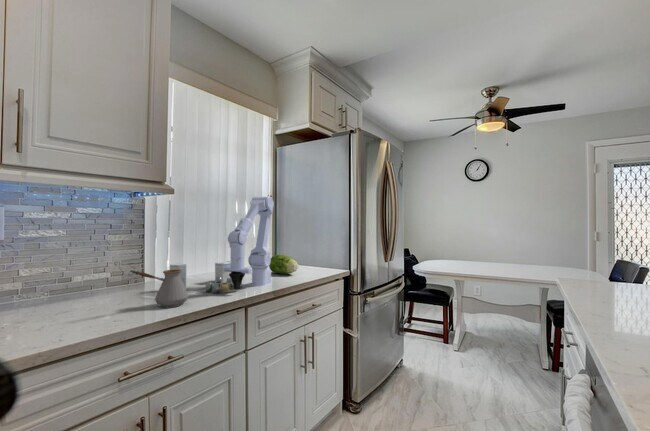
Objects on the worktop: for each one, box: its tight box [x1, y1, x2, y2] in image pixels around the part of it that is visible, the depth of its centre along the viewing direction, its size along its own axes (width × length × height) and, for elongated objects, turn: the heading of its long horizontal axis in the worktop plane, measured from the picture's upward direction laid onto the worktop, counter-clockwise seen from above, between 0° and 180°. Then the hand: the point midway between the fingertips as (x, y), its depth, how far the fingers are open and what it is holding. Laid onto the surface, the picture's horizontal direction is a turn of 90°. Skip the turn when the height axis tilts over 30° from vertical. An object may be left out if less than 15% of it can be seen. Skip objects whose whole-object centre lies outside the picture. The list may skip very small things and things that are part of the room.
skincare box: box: [169, 263, 187, 290], centre depth 144 cm, size 6×4×12 cm
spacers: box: [205, 277, 243, 295], centre depth 143 cm, size 15×16×4 cm
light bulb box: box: [214, 260, 231, 283], centre depth 162 cm, size 11×7×11 cm, turn 145°
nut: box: [220, 282, 231, 291], centre depth 142 cm, size 5×5×3 cm
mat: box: [193, 286, 247, 296], centre depth 143 cm, size 15×18×1 cm
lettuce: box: [268, 254, 299, 275], centre depth 188 cm, size 12×21×11 cm, turn 50°
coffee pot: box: [127, 269, 190, 308], centre depth 115 cm, size 21×12×15 cm, turn 148°
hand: (237, 289), depth 139 cm, fingers closed
